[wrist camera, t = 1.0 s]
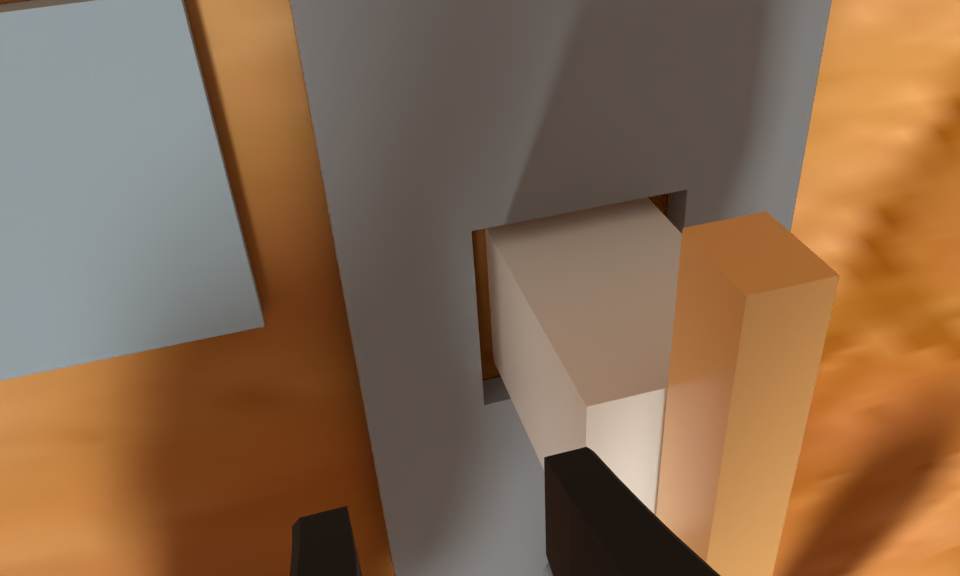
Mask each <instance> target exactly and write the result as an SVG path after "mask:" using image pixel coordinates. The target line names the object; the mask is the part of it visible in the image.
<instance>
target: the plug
mask: <svg viewBox="0 0 960 576" xmlns="http://www.w3.org/2000/svg"><path fill="white" fill-rule="evenodd" d="M485 232H486V248H487V265H488V281H489V297H490V313H491V329H492V345H493V361H494V363H495V365H496V367H497V369H498V372H499V374H500V376H501V378H502V380H503V382H504V385H505V387H506V389H507V391H508V393H509V395H510V398H511V400H512V402H513V404H514V406H515V409H516V411H517V413H518V415H519V417H520V419H521V422H522V424H523V426H524V428H525V430H526V432H527V435H528V437H529V439H530V441H531V443H532V446H533V448H534V450H535V452H536V454H537V456H538V459H539V461H540V463H541V465H542V467H543V469H544V457H547V456H551V455H555V454H559V453H563V452H567V451H571V450H575V449H579V448H583V447H588V448H590V449H591V450H593V451H594V452H595V453H596V454H597V455H598V456H599V457H600V458H601V460H602V461H603V462H604V463H605V464H606V465H607V466H608V467H609V468H610V469H611V470H612V471H613V472H614V474H615V475H616V476H617V477H618V478H619V479H620V480H621V481H622V482H623V483H624V484H625V485H626V486H627V487H628V488H629V489H630V490H631V491H632V492H633V493H634V494H635V495H636V496H637V497H638V498H639V499H640V500H641V501H642V502H643V503H644V504H645V505H646V506H647V507H648V508H649V509H650V510H651V511H652V512H653V513H654V514H655V515H656V509H657V498H658V487H659V476H660V466H661V455H662V444H663V433H664V423H665V412H666V401H667V390H668V380H669V369H670V358H671V347H672V337H673V326H674V315H675V304H676V294H677V283H678V272H679V261H680V251H681V240H682V234H681V232H680V231H679V230H678V229H677V228H676V227H675V226H674V225H673V224H672V223H671V222H670V221H669V220H668V219H667V217H666V216H665V215H664V214H663V213H662V212H661V211H660V210H659V209H658V208H657V207H656V206H655V205H654V204H653V202H652V201H651V200H650V199H649V198H648V197H646V198H641V199H636V200H631V201H625V202H620V203H615V204H610V205H605V206H599V207H594V208H589V209H584V210H579V211H573V212H568V213H563V214H558V215H553V216H547V217H542V218H537V219H532V220H527V221H521V222H516V223H511V224H506V225H501V226H495V227H490V228H485Z"/></svg>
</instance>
